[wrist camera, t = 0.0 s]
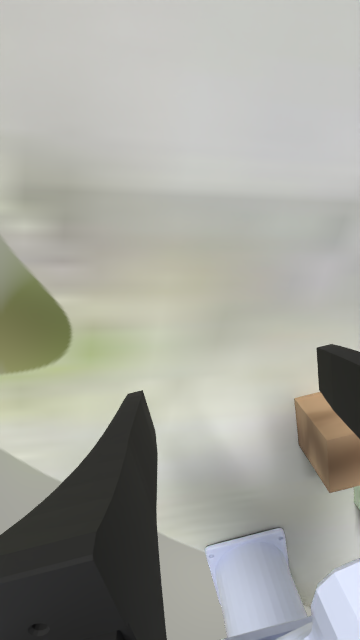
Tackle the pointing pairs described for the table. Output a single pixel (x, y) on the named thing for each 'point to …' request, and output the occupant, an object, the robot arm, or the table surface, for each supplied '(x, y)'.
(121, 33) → the table surface
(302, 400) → the walnut cube
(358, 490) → the sage cube
